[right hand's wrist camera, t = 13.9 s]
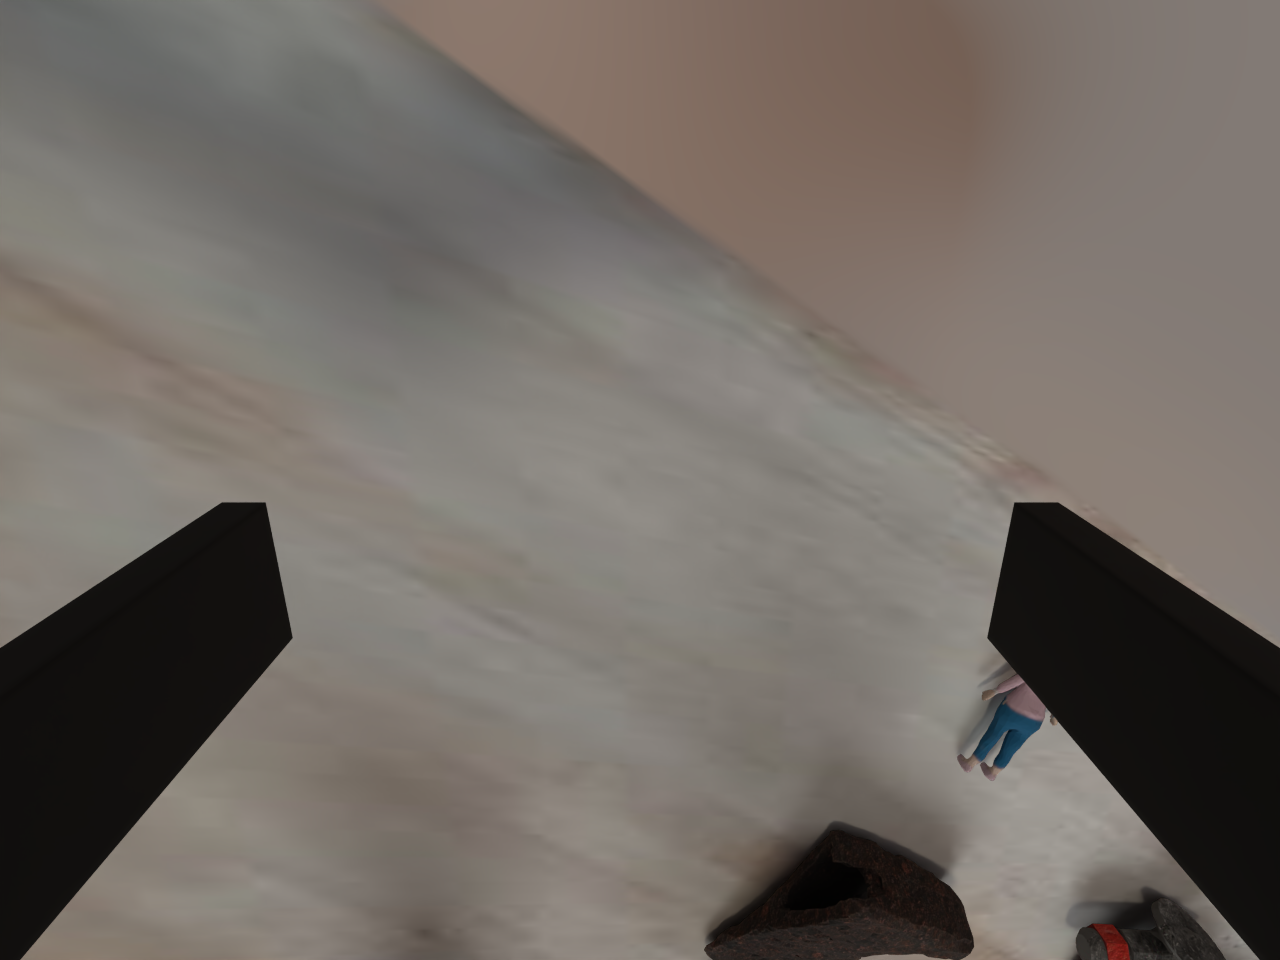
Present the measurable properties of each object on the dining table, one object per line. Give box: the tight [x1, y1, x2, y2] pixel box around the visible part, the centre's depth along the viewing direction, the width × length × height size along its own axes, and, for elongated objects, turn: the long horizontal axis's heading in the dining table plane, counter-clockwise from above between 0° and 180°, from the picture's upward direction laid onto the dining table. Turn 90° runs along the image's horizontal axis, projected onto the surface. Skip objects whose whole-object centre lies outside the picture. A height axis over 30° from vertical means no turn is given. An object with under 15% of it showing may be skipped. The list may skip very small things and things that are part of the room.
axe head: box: [704, 830, 974, 960], centre depth 56 cm, size 18×8×15 cm
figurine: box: [957, 674, 1058, 781], centre depth 48 cm, size 6×4×15 cm
